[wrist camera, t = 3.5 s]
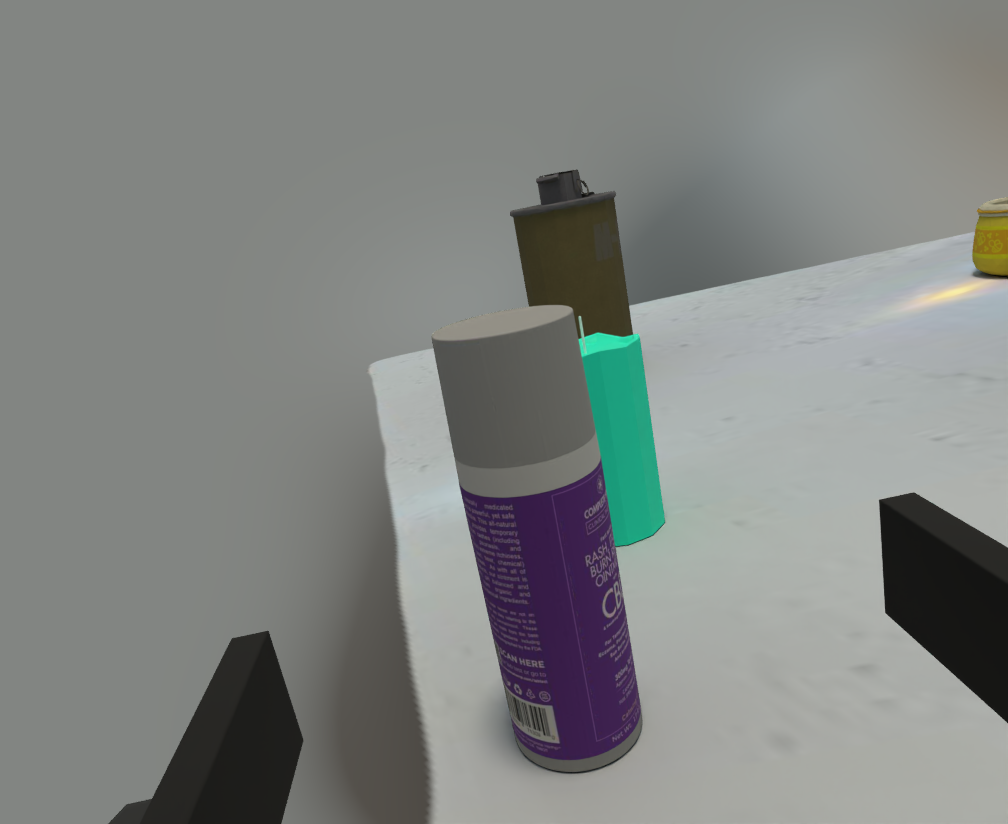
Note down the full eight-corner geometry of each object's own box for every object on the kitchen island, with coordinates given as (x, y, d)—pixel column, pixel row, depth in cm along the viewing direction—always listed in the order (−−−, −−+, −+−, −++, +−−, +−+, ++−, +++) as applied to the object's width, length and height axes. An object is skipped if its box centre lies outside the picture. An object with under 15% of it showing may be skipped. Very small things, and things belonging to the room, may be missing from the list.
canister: (617, 385, 69) (584, 166, 64) (522, 388, 75) (484, 187, 69) (654, 354, 78) (629, 159, 72) (567, 359, 83) (537, 178, 78)
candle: (682, 531, 39) (653, 311, 36) (574, 557, 39) (535, 336, 35) (644, 491, 45) (617, 299, 42) (550, 514, 44) (515, 320, 41)
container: (656, 759, 24) (587, 318, 20) (518, 784, 24) (421, 350, 20) (628, 672, 29) (567, 297, 25) (511, 694, 29) (431, 323, 25)
